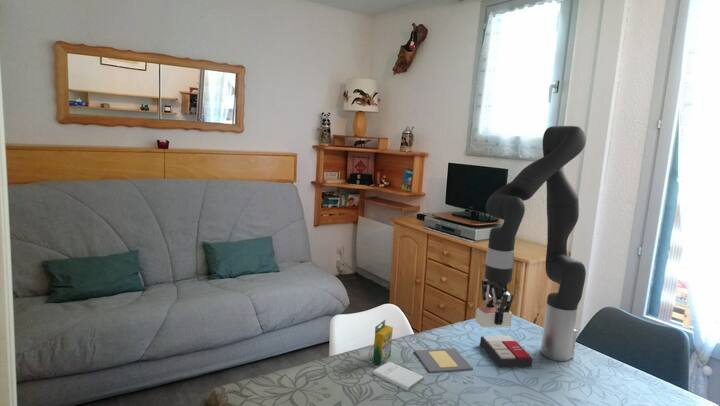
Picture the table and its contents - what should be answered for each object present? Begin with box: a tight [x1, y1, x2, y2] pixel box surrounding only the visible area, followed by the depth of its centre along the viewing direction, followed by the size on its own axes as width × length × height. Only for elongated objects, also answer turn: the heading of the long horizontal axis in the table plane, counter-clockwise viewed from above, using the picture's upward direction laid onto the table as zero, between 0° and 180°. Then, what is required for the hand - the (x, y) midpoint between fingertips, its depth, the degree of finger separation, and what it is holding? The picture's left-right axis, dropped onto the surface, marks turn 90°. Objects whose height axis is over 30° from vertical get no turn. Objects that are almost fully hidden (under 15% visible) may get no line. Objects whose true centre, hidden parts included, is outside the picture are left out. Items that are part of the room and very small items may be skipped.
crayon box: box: [372, 319, 394, 366], centre depth 137 cm, size 7×3×12 cm, turn 152°
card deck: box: [475, 306, 513, 328], centre depth 130 cm, size 9×4×4 cm, turn 103°
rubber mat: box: [414, 347, 474, 374], centre depth 140 cm, size 14×13×1 cm
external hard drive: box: [372, 361, 425, 392], centre depth 129 cm, size 2×8×12 cm
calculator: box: [479, 335, 534, 369], centre depth 146 cm, size 11×4×15 cm
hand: (493, 320), depth 130 cm, fingers closed on card deck, 4 cm apart
